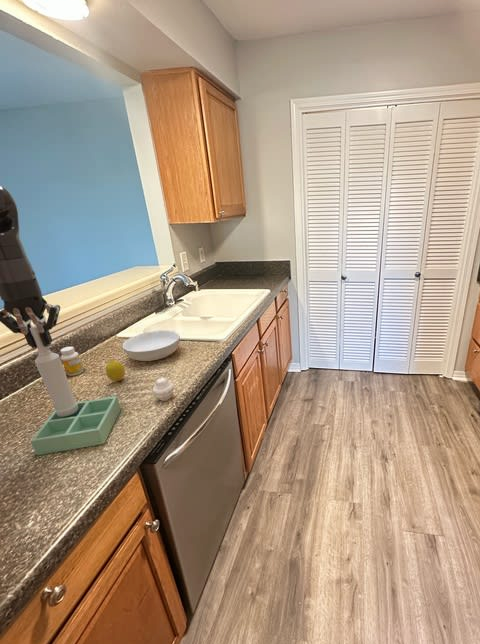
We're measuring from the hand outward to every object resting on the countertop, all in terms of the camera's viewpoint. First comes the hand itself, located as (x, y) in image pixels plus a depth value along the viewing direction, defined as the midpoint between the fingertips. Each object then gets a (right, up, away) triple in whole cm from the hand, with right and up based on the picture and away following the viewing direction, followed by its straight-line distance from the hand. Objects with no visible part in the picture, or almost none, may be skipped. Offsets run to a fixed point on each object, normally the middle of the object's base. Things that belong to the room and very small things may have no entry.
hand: (41, 345), depth 81 cm
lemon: (+2, -13, +31) cm, 34 cm away
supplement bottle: (-18, -11, +38) cm, 44 cm away
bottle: (+1, -19, +8) cm, 20 cm away
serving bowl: (+7, -6, +49) cm, 49 cm away
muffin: (+23, -17, +20) cm, 35 cm away
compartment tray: (+6, -23, +7) cm, 25 cm away
